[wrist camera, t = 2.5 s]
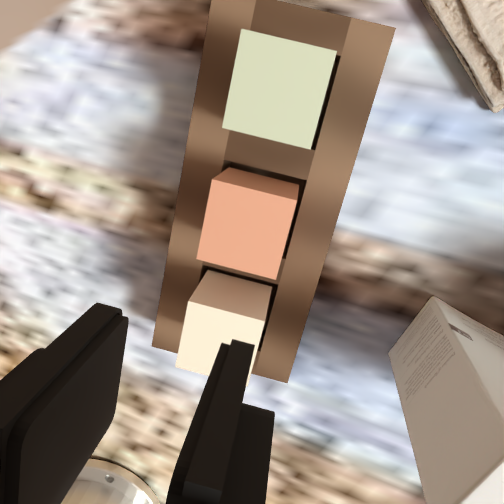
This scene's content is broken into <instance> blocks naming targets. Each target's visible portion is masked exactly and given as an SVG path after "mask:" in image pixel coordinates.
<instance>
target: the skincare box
mask: <svg viewBox="0 0 504 504" xmlns="http://www.w3.org/2000/svg"><path fill="white" fill-rule="evenodd" d="M388 355H389V358H390V362H391V366H392V370H393V374H394V378H395V382H396V386H397V390H398V394H399V397H400V401H401V405H402V409H403V413H404V417H405V421H406V425H407V429H408V433H409V437H410V441H411V444H412V448H413V452H414V456H415V460H416V464H417V468H418V472H419V476H420V480H421V484H422V488H423V492H424V496H425V500H426V504H504V336H503V335H501V334H499V333H497V332H496V331H494V330H492V329H490V328H488V327H486V326H484V325H482V324H481V323H479V322H477V321H475V320H473V319H471V318H470V317H468V316H466V315H465V314H463V313H461V312H460V311H458V310H456V309H455V308H453V307H451V306H450V305H448V304H447V303H445V302H444V301H442V300H440V299H439V298H437V297H435V296H432V297H431V298H430V299H429V300H428V302H427V303H426V304H425V306H424V307H423V308H422V309H421V311H420V312H419V313H418V315H417V316H416V317H415V319H414V320H413V321H412V322H411V324H410V325H409V326H408V328H407V329H406V330H405V332H404V333H403V334H402V335H401V337H400V338H399V339H398V341H397V342H396V343H395V345H394V346H393V347H392V349H391V350H390V351H389V353H388Z"/></svg>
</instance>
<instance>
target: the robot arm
mask: <svg viewBox="0 0 504 504" xmlns="http://www.w3.org/2000/svg"><path fill="white" fill-rule="evenodd" d="M127 329H128V317H125V316H122V310H121V309H120V308H116V307H112V306H108V305H105V304H101V303H96V304H94V305H93V306H92V307H91V308H90V309H89V310H87V311H86V312H85V313H84V314H83V315H82V316H81V317H80V318H79V319H77V320H76V321H75V322H74V323H73V324H72V325H71V326H70V327H69V328H67V329H66V330H65V331H64V332H63V333H62V334H61V335H60V336H59V337H57V338H56V339H55V340H54V341H53V342H52V343H51V344H50V345H49V346H47V347H46V348H45V349H44V348H40V349H37V350H35V351H34V352H32V353H31V354H30V355H29V356H28V357H27V358H26V359H24V360H23V361H22V362H21V363H20V364H19V365H17V366H16V367H15V368H14V369H13V370H12V371H11V372H9V373H8V374H7V375H6V376H5V377H4V378H3V379H1V380H0V504H160V502H159V500H158V498H157V497H156V495H155V494H154V493H153V491H152V490H151V488H150V487H149V486H148V485H147V484H146V483H144V482H143V481H142V480H141V479H140V478H139V477H137V476H136V475H135V474H133V473H132V472H130V471H128V470H126V469H124V468H122V467H121V466H118V465H115V464H113V463H110V462H107V461H102V460H96V459H89V458H90V457H91V455H92V453H93V452H94V450H95V449H96V447H97V445H98V444H99V442H100V441H101V439H102V438H103V436H104V434H105V433H106V431H107V430H108V428H109V426H110V424H111V422H112V420H113V417H114V414H115V410H116V403H117V396H118V390H119V383H120V376H121V369H122V363H123V356H124V349H125V343H126V336H127ZM254 348H255V345H253V344H250V343H246V342H242V341H239V340H235V339H232V341H231V344H230V345H229V344H225V343H221V345H220V348H219V351H218V353H217V356H216V359H215V361H214V364H213V367H212V369H211V372H210V375H209V377H208V380H207V383H206V385H205V388H204V391H203V393H202V396H201V399H200V401H199V404H198V407H197V409H196V412H195V415H194V417H193V420H192V423H191V425H190V428H189V431H188V433H187V436H186V439H185V441H184V444H183V447H182V449H181V452H180V455H179V458H178V460H177V463H176V466H175V469H174V472H173V476H172V479H171V483H170V486H169V490H168V495H167V499H166V504H265V501H266V492H267V483H268V473H269V464H270V455H271V446H272V436H273V427H274V417H275V413H274V412H273V411H269V410H266V409H262V408H258V407H255V406H251V405H248V404H244V403H242V401H243V396H244V392H245V388H246V383H247V379H248V374H249V370H250V365H251V361H252V357H253V352H254Z"/></svg>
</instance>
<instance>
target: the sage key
mask: <svg viewBox="0 0 504 504" xmlns="http://www.w3.org/2000/svg"><path fill="white" fill-rule="evenodd" d="M336 53H337V51H334V50H330V49H326V48H322V47H317V46H313V45H309V44H305V43H300V42H296V41H292V40H288V39H283V38H279V37H275V36H271V35H266V34H262V33H258V32H254V31H250V30H245V29H241V34H240V39H239V44H238V49H237V54H236V59H235V64H234V69H233V74H232V79H231V84H230V89H229V95H228V100H227V105H226V110H225V115H224V120H223V125H222V128H225V129H229V130H233V131H237V132H241V133H245V134H249V135H253V136H257V137H261V138H265V139H270V140H274V141H278V142H282V143H286V144H290V145H294V146H298V147H302V148H306V149H310V150H311V146H312V142H313V139H314V135H315V131H316V128H317V124H318V120H319V116H320V113H321V109H322V105H323V101H324V98H325V94H326V90H327V87H328V83H329V79H330V75H331V72H332V68H333V64H334V61H335V57H336Z"/></svg>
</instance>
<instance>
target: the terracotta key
mask: <svg viewBox="0 0 504 504" xmlns="http://www.w3.org/2000/svg"><path fill="white" fill-rule="evenodd" d="M298 190H299V185H298V184H294V183H290V182H286V181H282V180H278V179H274V178H270V177H266V176H262V175H258V174H254V173H250V172H246V171H242V170H238V169H234V168H230V167H229V168H227V169H226V170H224V171H223V172H222V173H220V174H219V175H217V176H216V177H214V178H213V179H212V182H211V187H210V192H209V197H208V202H207V207H206V212H205V218H204V223H203V228H202V233H201V238H200V243H199V248H198V253H197V258H196V259H198V260H202V261H205V262H209V263H213V264H217V265H221V266H225V267H228V268H232V269H236V270H240V271H244V272H248V273H251V274H255V275H259V276H263V277H267V278H271V279H274V280H276V278H277V274H278V270H279V266H280V263H281V259H282V255H283V252H284V248H285V244H286V240H287V237H288V233H289V229H290V226H291V222H292V218H293V214H294V211H295V207H296V203H297V198H298Z"/></svg>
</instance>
